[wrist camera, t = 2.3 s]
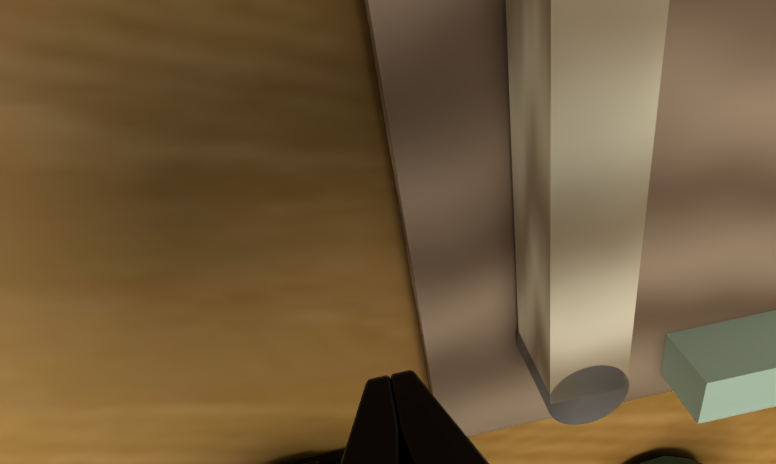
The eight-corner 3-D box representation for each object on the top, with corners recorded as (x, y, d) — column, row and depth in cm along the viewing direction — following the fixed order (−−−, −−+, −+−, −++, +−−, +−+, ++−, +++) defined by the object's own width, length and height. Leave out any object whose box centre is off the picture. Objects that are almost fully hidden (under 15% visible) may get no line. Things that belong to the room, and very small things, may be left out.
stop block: (818, 338, 27) (871, 384, 25) (660, 373, 27) (697, 423, 25) (832, 297, 26) (891, 342, 23) (666, 334, 26) (707, 383, 23)
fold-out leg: (587, 352, 25) (625, 414, 22) (517, 367, 25) (547, 432, 22) (608, -59, 16) (678, -45, 13) (500, -38, 16) (547, -20, 13)
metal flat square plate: (824, 331, 30) (848, 351, 28) (434, 417, 29) (441, 442, 28) (1011, -183, 18) (1067, -187, 16) (354, -57, 17) (359, -52, 16)
